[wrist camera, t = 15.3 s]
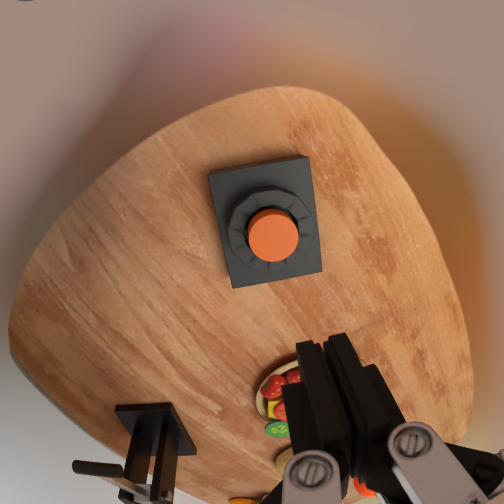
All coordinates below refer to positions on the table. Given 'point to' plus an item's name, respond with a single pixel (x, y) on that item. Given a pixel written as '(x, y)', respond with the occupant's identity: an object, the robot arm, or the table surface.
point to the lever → (114, 478)
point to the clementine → (363, 489)
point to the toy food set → (278, 398)
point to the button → (272, 235)
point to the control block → (260, 198)
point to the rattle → (245, 501)
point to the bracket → (153, 448)
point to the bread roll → (283, 460)
